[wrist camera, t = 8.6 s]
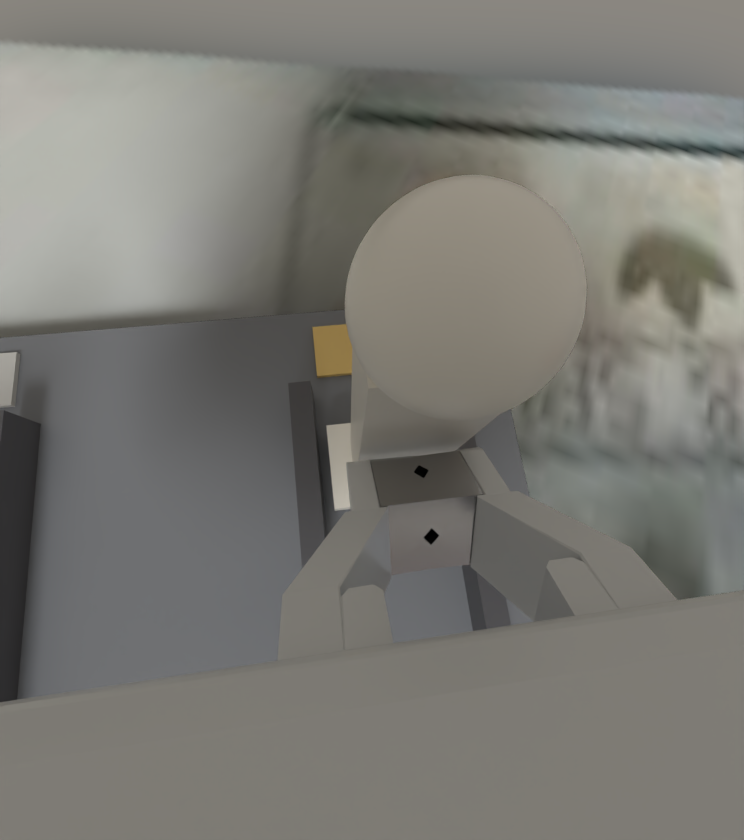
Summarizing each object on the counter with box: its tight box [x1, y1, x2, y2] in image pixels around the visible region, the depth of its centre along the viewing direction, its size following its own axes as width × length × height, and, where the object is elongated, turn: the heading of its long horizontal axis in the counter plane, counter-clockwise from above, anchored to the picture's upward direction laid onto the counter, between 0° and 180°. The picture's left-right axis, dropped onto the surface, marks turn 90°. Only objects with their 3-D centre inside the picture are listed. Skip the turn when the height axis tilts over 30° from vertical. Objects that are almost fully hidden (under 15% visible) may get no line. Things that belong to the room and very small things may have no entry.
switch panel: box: [0, 310, 534, 702], centre depth 15 cm, size 27×20×3 cm
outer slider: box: [326, 175, 587, 511], centre depth 10 cm, size 4×3×13 cm
